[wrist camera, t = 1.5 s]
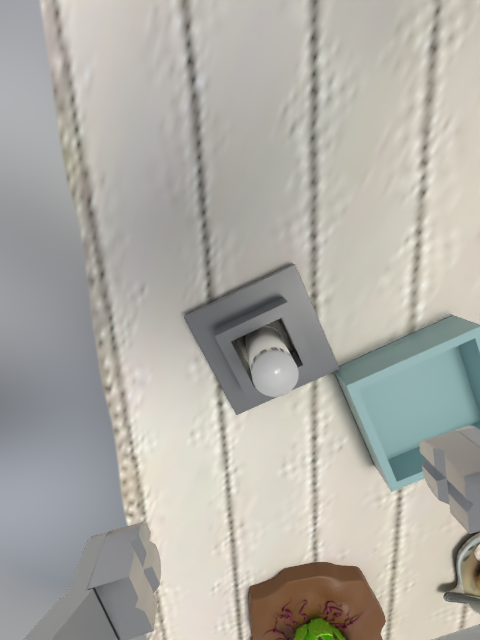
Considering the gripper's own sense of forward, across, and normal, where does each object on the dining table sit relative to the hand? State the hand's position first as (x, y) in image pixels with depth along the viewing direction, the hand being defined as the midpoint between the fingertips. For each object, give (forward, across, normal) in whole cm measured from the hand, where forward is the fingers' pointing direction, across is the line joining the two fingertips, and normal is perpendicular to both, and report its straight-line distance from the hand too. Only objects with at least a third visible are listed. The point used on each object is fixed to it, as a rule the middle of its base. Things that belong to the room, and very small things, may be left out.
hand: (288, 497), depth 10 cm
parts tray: (+27, -19, +17) cm, 37 cm away
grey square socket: (+28, -3, +5) cm, 29 cm away
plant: (+29, 0, +48) cm, 56 cm away
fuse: (+28, -3, +5) cm, 29 cm away
